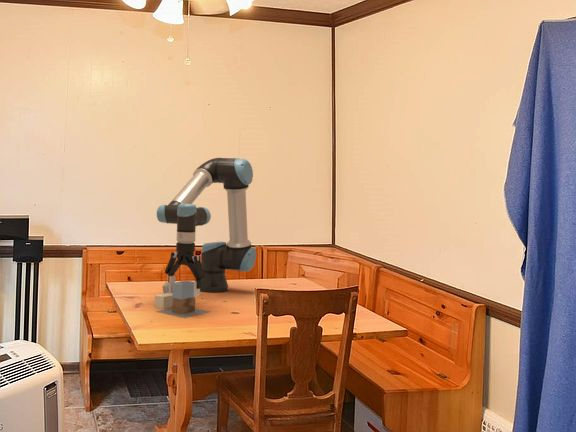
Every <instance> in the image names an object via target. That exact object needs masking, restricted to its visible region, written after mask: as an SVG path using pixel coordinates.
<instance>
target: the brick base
mask: <svg viewBox="0 0 576 432" xmlns="http://www.w3.org/2000/svg"><path fill="white" fill-rule="evenodd" d="M171 308H172V312H174V313H178V314H184V313H188V312H193V311H195V308H196V297H191V298H186V299H177V298H173V304H172V307H171Z"/></svg>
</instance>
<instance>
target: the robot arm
mask: <svg viewBox="0 0 576 432" xmlns="http://www.w3.org/2000/svg"><path fill="white" fill-rule="evenodd" d="M253 177H254V170H253V167H252V165H251V163H250V161H248V160H247V159H245V158H238V157H237V158H236V157H233V158H232V157H215V158H211V159H209V160H207V161H204V162H203V163H202V164H200V165H199V166H198V167H197V168H196V169H195V170H194V172H193V173H192V177H191V178H190V179H189V180H188V182H187V183H186V184H185V185H184V186H183V187H182V188H181V189H180V190H179V192H178V193H177V194H176V195H175V196H174V197H173V198H172V200H171V201H170V202H169V203H168V204H167V205H166V204H161V205H159V206H158V207H157V211H156V218H157V220H158V222H160V223H163V224H170V225H171V224H173V225H174V224H175V225H176V243H175V245H176V246H175V250H176V251H173V252H171V253H170V258H169V261H168V263H167V265H166V268H165V271H164V274H165V275H167V276H168V283H169V292H173V283H175V282H176V273H177V271H178V270H179V268H180V267H181V266H183V265H184V266H187V267H188V268H189V270H190V271H191V272H190V273H192V275H193V277H194V279H195V280H194V281H193V282H194V297H195V298H197V297H200V296H201V292H204V293H222V292H227V291H228V290H229V284H228V280H227V276H226V271H227V270H228V271H235V272H249V271H251V270H253V267H254V266H255V263H256V259H257V250H256V248H255V247H253V246H252V241H251V240H249V238H248V236H249V235H248V233H249V232H248V217H247V214H248V213H247V212H248V211H247V197H246V195H247V192H246V191H247V190H248V189H249V187H250V185H251V184H252V182H253ZM212 184H223V185H222V186H223V190H225V191H226V193H227V194H226V195H227V198H226V199H227V213H228V215H227V216H228V232H229V233H228V235H229V241H227V242H226V241H212V242H205V243H203V244H202V247H201V252H200V253H201V255H195V254H194V253H195V252H196V243H195V242H196V229H197V228H196V227H198V226H204V225H207V224H208V223H209V222H210V221H211V217H212V216H211V212H210V209H208V208H206V207H204V206H199V207H197V206H196V204H194V202H195V201H196V199H198V197H199V196H200V195H201V194H202V193H203V192H204V190H205V189H206V188H208V187H210V186H211V185H212Z"/></svg>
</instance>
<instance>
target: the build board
mask: <svg viewBox="0 0 576 432" xmlns="http://www.w3.org/2000/svg"><path fill="white" fill-rule="evenodd" d="M154 312H155V313H160V314H163V315H164V314H165V315H168V316H174V317H177V318H183V319H187V318H191V317H195V316H199V315H205V314H207V313H212V311H209V310H205V309H201V308H197V307H195V311H193V312H188V313H184V314H178V313H174V312H172V307H169V308H165V309H160V310H156V311H154Z"/></svg>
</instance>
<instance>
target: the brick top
mask: <svg viewBox="0 0 576 432" xmlns="http://www.w3.org/2000/svg"><path fill="white" fill-rule="evenodd" d="M191 297H194V281H192V280H181V281H175V283H173V293H172V298H177V299H186V298H191Z"/></svg>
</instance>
